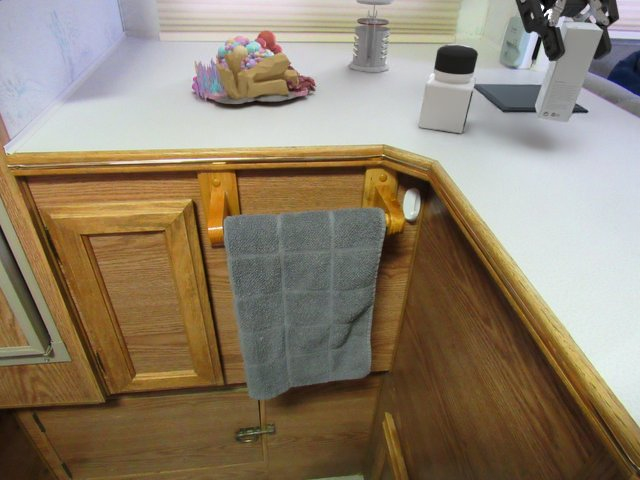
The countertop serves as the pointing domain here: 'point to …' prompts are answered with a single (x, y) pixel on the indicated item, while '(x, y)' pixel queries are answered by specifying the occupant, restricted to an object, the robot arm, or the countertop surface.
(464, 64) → the medicine bottle
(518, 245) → the countertop surface
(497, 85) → the slate mat
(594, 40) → the cosmetic box
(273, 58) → the candy landscape model
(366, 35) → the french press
